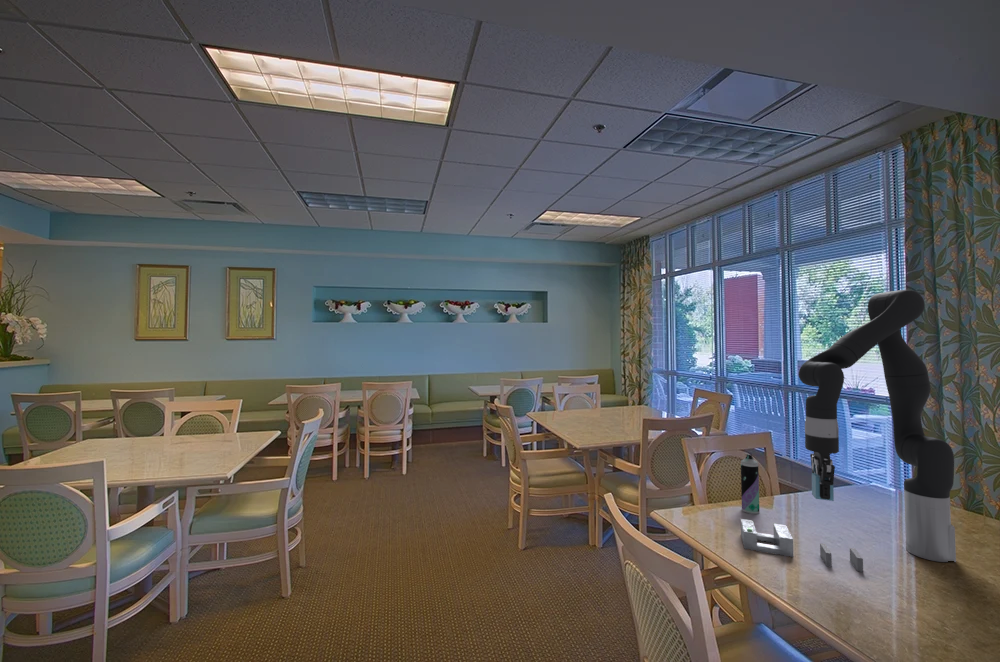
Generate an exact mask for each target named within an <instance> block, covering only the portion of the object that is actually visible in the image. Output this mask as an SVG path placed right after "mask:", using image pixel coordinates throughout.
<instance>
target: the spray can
mask: <svg viewBox="0 0 1000 662" xmlns="http://www.w3.org/2000/svg"><path fill="white" fill-rule="evenodd" d="M759 475H760V473H759V462H758V461H756V460H755V458H753V455H752V454H748V453H747V454H746V456H745V457H744V459H741V460H740V482H741V483H740V485H741V486H740V487H741V493H740V494H741V495H740V496H741V511H742V512H744V513H746V514H749V515H750V514H751V515H759V514H760V480H759V478H760V476H759Z"/></svg>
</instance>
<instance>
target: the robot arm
mask: <svg viewBox="0 0 1000 662" xmlns="http://www.w3.org/2000/svg"><path fill="white" fill-rule="evenodd" d="M925 306H926V305H925V300H924V297H923V296H922V294H920V293H919V292H918V291H916V290H913V289H899V290H892V291H886V292H880V293H879V292H878V293H875V294H873V295H872V296H870V298H869V300H868V302H867V313H868V316H869V317H868V318H869V320H870V321H868V322H866V323H864V324H862V325H860V326H858V327H856V328H854V329H852V330H851V331H849V332H847V333H846V334H844V335H843V336H840V338H839V339H838V340H836V341H835V342H834V343H833V344H832V345H830V347H829V348H827V349H826V350H824V351H822V352H820V353H818V354H817V355H814V356H813V357H810V358H809V359H808V360H806V361H805V362H804V363H802V365H800V368H799V370H798V378H799V380H800V381H801V383H802V384H804V385H806V386H809V387H817V388H818V389H817V392H816V394H813V395H809V396H807V397H806V399H805V421H804V447H805V449H806V450H807V451H810V452H813V453H810V455H809V457H810V464H811V474H812V473H816V474H817V475H818V476H819V484H820V497H821V498H822V499H830V486H831V485H833V486H834V485H835V484H834V479H835V469H836V466H835V465H834V463H833V462H834V461H833V459H831V454H833V455H835V454H838V453H839V451H840V441H839V440H840V438H839V435H840V434H839V428H840V427H839V423H838V401H839V400H840V395H841V391H842V389H843V386H844V381H845V375H844V371H843V370H845V369H848V368H851V367H852V366H853V365H855V364H856V363H857V362H858V361H860V359H862V358H863V357H864V356H865V355H866V354H868V352H869V351H871V350H872V349H873V348H874V347H875V346H877V345H878V350H879V354H880V357H881V358H880V359H881V362H882V369H883V376H884V379H885V380H884V381H885V385H886V389H887V392H888V397H889V402H890V403H889V404H890V409H891V415H892V425H893V440H894V443H893V444H894V448H895V452H896V455H897V456H898V458H899V459H900V460H901V461H902V462H904V463H905V464H908V465H910V466H913V467H916V468H917V469H916V476H915V477H909V478H905V479H904V482H903V492H904V493H903V494H904V495H903V497H904V498H903V499H904V523H905V524H904V525H905V528H904V529H905V548H906V551H907V552H909V553H910V554H911V555H914V556H915V557H919V558H922V559H925V560H929V561H933V562H938V563H949V562H948V561H954V562H953V563H956V562H957V553H956V552H957V550H956V528H955V526H954V525H952V521H951V520H952V518H951V517H952V515H951V490H952V488H953V486H954V479H955V477H954V475H955V456H954V451H953V449H952V447H951V445H950V444H949V443H947V442H946V441H945V440H943V439H940V438H936V437H933V436H928V435H925V433H924V429H923V424H922V411H923V410H924V407H925V405H926V403H927V402H928V400H929V397H930V394H931V383H930V377H929V373H928V368H927V366H926V364H925V362H924V361H923V360H922V358H921V357H920V356H919V355H918V354H917V353H916V352H915V351H914V349H912V348H911V347H910V346H909V344H908V343H907V342H906V341H905V340H904V337H903V335H902V333H901V329H902V328H904V327H906V326H907V325H909V324H911V323H913V322H914V321H915V320H917V319H919V317H920V316H921V315H922V314H923V312H924V311H925ZM820 471H821V472H822V473H821V472H820ZM825 477H827V478H828V480H825Z"/></svg>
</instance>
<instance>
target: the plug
mask: <svg viewBox="0 0 1000 662" xmlns="http://www.w3.org/2000/svg"><path fill="white" fill-rule="evenodd" d="M820 472H821V471H820ZM821 473H822V472H821ZM825 480H828V478H827V477H825ZM834 493H835V492H834V484H833V485H831V486H830V499H822V498H821V497H820V484H819V476H818V475H817V474H816V473H812V472H811V495H812V496H813V497H814V498H815V499H816V500H822V501H831V502H834V501H835V499H834V498H835V495H834Z"/></svg>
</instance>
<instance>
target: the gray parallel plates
mask: <svg viewBox="0 0 1000 662" xmlns="http://www.w3.org/2000/svg"><path fill="white" fill-rule="evenodd" d="M819 549H820V550H819V553H820V554H819V555H820V558H821V559H822V561H823V563H824V564H825V566H826V567H830V568H831V567H833V565H832V564H833V563H832V562H833V561H832V552H831V551H830V549H829V548H828V546H827V545H826V543H822V542H820V543H819ZM849 562H851V563H850V564H852V566H853V567H854V568H855V570H856V571H857V572H859V573H860V572H861V573H864V558H863V557H862V555H861V554H860V553H859V552H858V551H857V549H856V548H854V547H849Z"/></svg>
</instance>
